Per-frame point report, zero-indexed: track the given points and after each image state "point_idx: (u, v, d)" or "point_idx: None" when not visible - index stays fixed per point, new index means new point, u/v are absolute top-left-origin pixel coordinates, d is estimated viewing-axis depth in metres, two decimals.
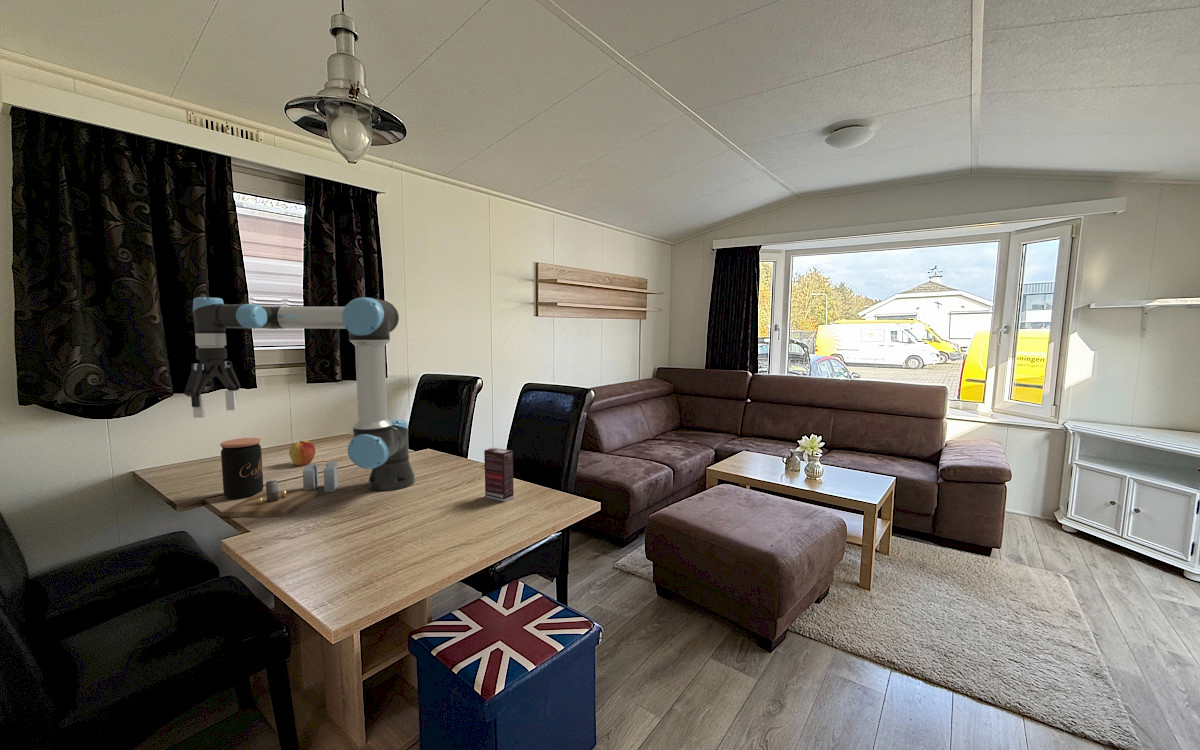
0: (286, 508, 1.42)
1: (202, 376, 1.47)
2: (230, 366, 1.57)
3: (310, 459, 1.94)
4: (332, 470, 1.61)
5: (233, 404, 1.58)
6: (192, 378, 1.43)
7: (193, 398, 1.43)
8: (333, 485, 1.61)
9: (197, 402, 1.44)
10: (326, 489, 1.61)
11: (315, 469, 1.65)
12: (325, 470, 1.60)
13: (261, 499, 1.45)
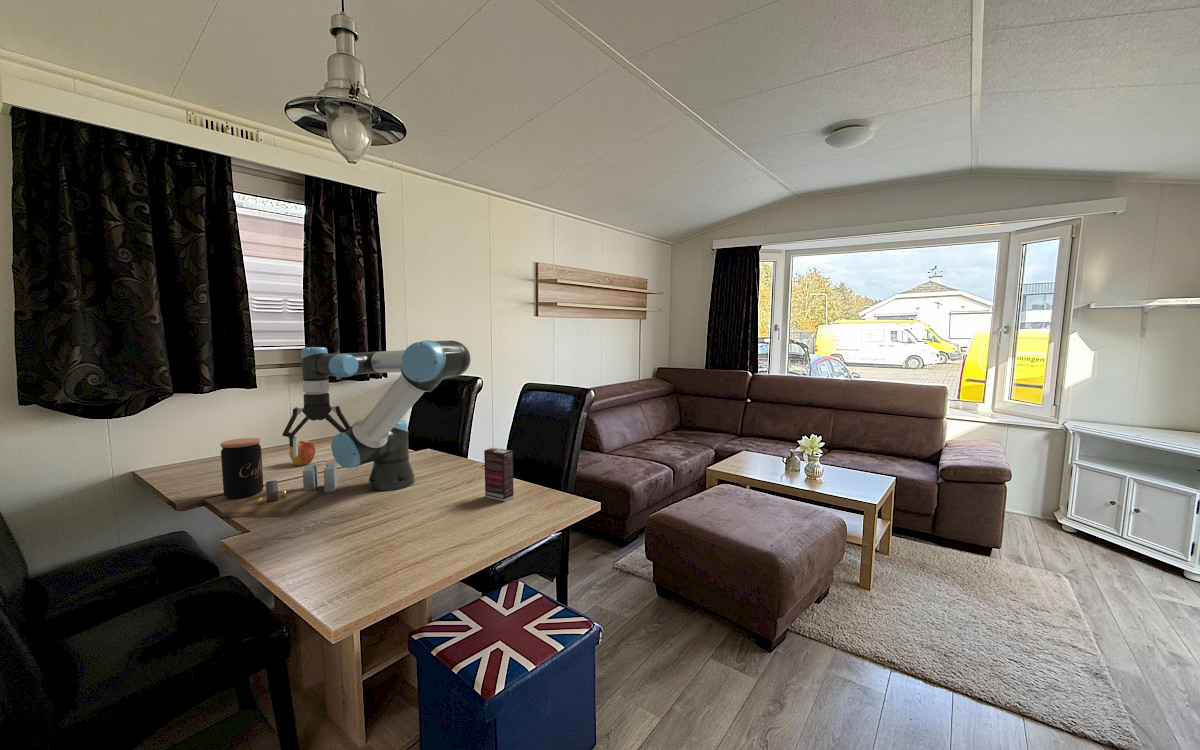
0: (286, 508, 1.42)
1: (303, 419, 1.61)
2: (337, 411, 1.63)
3: (310, 459, 1.94)
4: (332, 470, 1.61)
5: None
6: None
7: None
8: (333, 485, 1.61)
9: (290, 442, 1.59)
10: (326, 489, 1.61)
11: (315, 469, 1.65)
12: (325, 470, 1.60)
13: (261, 499, 1.45)
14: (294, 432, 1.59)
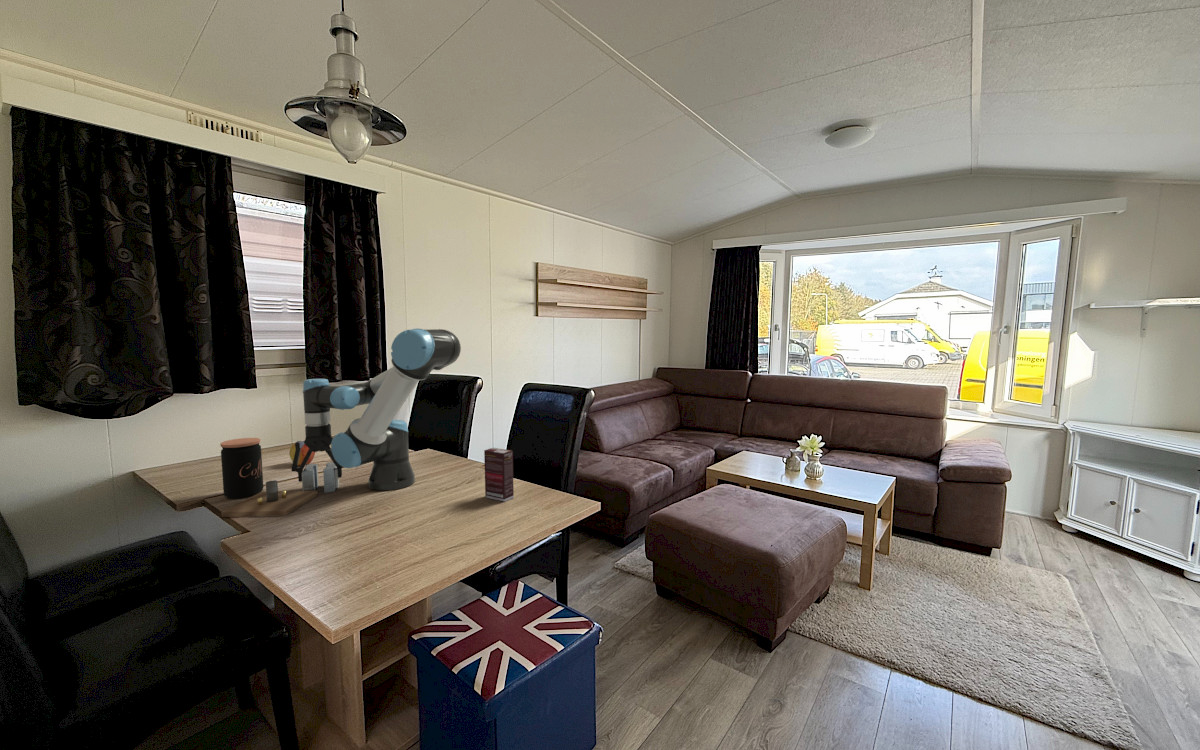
0: (286, 508, 1.42)
1: None
2: None
3: (310, 459, 1.94)
4: (332, 470, 1.61)
5: None
6: None
7: None
8: (333, 485, 1.61)
9: (299, 477, 1.61)
10: (326, 489, 1.61)
11: (315, 469, 1.65)
12: (325, 470, 1.60)
13: (261, 499, 1.45)
14: (302, 466, 1.60)
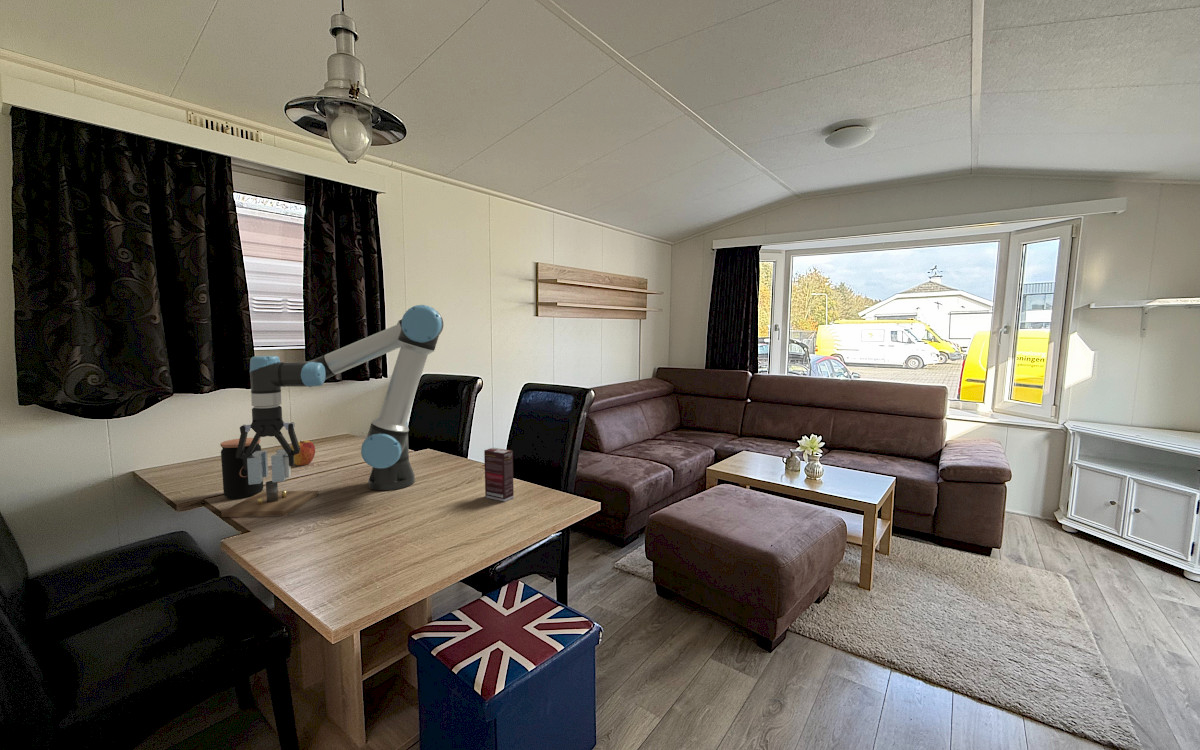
0: (286, 508, 1.42)
1: None
2: (289, 429, 1.48)
3: (310, 459, 1.94)
4: (281, 457, 1.45)
5: (286, 471, 1.49)
6: None
7: None
8: (282, 474, 1.45)
9: (245, 465, 1.45)
10: (274, 479, 1.45)
11: (264, 456, 1.49)
12: (273, 457, 1.44)
13: (261, 499, 1.45)
14: (248, 453, 1.44)
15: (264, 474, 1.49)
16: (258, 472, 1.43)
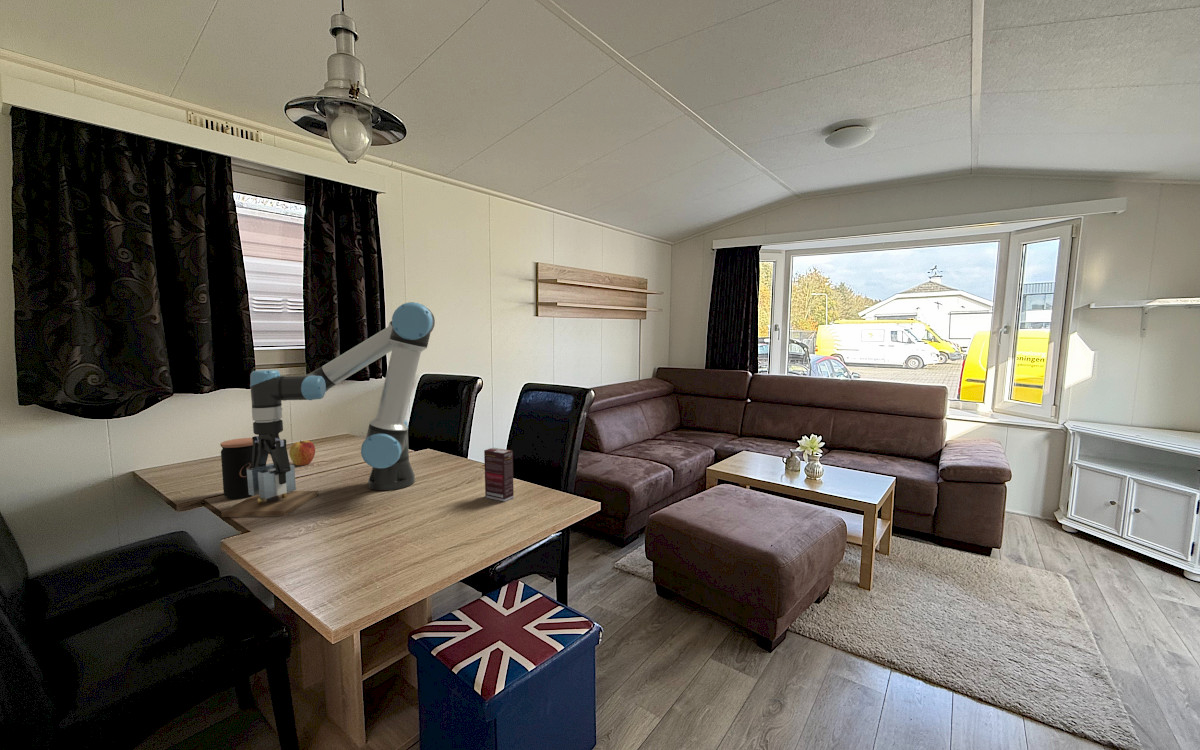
0: (286, 508, 1.42)
1: None
2: (276, 446, 1.44)
3: (310, 459, 1.94)
4: (262, 474, 1.42)
5: None
6: None
7: None
8: (264, 491, 1.43)
9: None
10: (260, 494, 1.44)
11: None
12: (258, 473, 1.43)
13: (261, 499, 1.45)
14: (257, 463, 1.49)
15: None
16: (252, 484, 1.45)
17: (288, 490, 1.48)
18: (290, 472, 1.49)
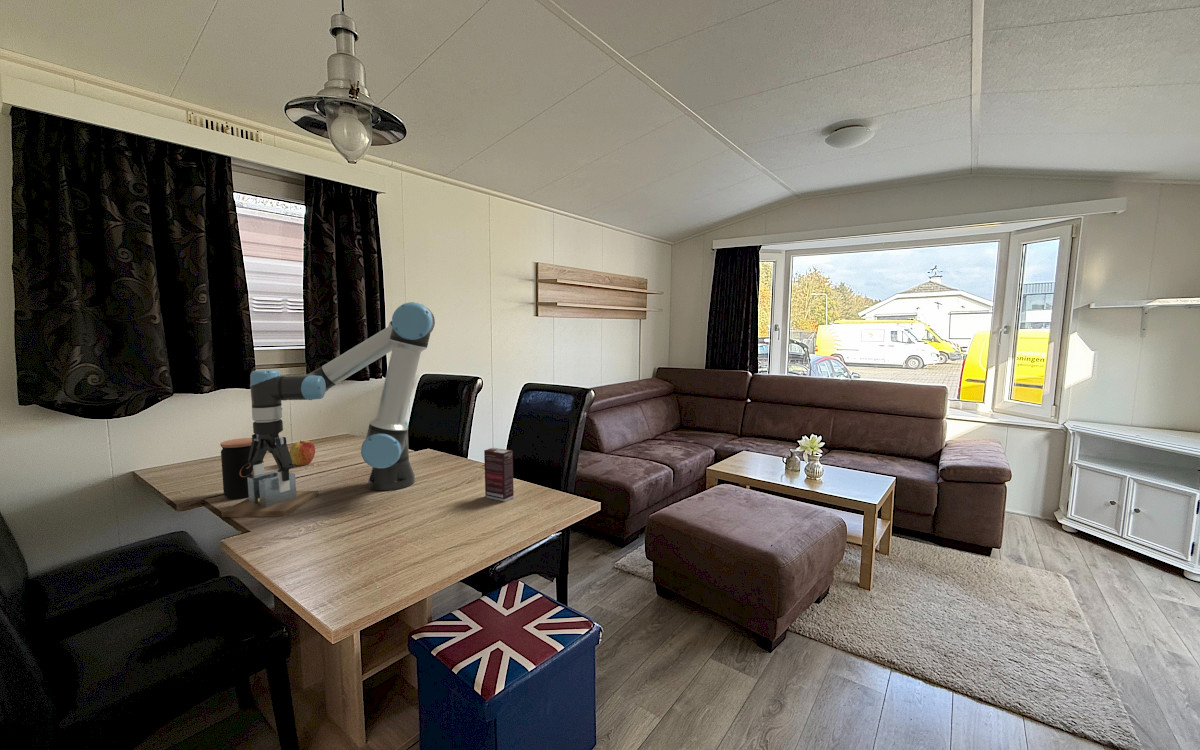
0: (286, 508, 1.42)
1: None
2: (276, 444, 1.43)
3: (310, 459, 1.94)
4: (263, 483, 1.42)
5: None
6: None
7: None
8: (265, 500, 1.43)
9: None
10: (261, 503, 1.44)
11: (275, 477, 1.51)
12: (259, 481, 1.43)
13: None
14: (254, 459, 1.50)
15: None
16: (253, 493, 1.45)
17: (289, 498, 1.49)
18: (291, 480, 1.49)
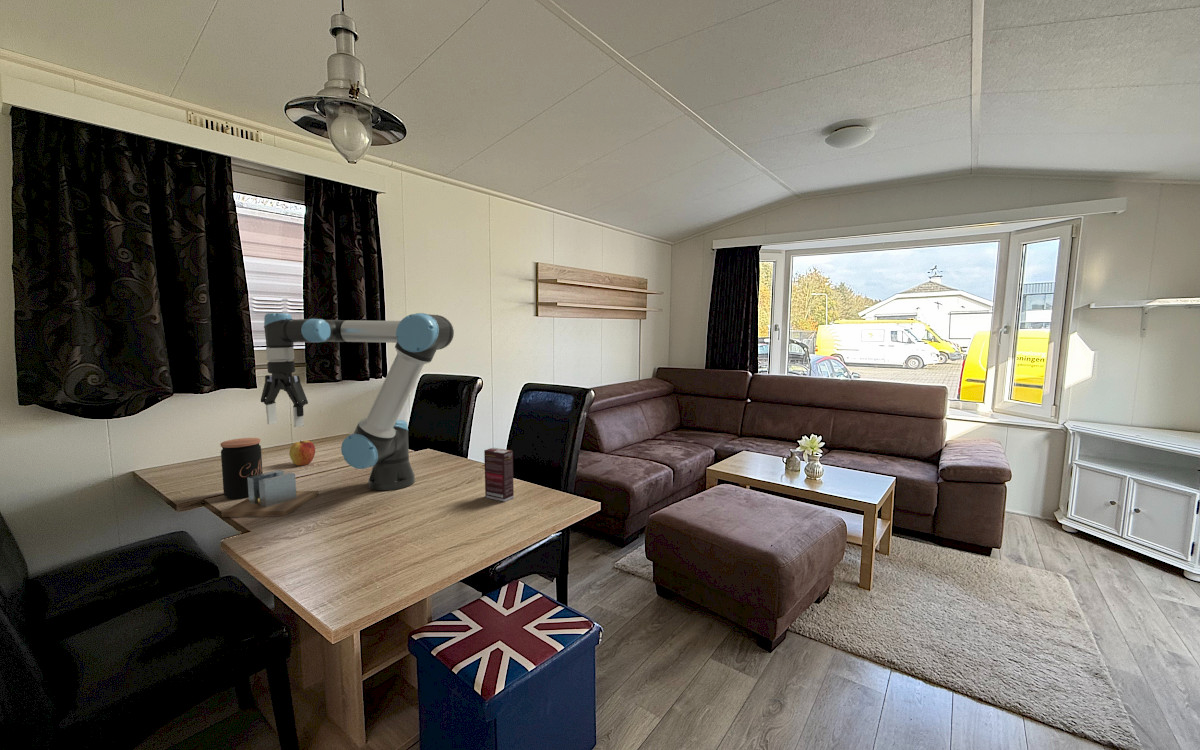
0: (286, 508, 1.42)
1: None
2: (291, 381, 1.53)
3: (310, 459, 1.94)
4: (263, 483, 1.42)
5: None
6: None
7: None
8: (265, 500, 1.43)
9: None
10: (261, 503, 1.44)
11: (275, 477, 1.51)
12: (259, 481, 1.43)
13: None
14: (267, 399, 1.58)
15: None
16: (253, 493, 1.45)
17: (289, 498, 1.49)
18: (291, 480, 1.49)
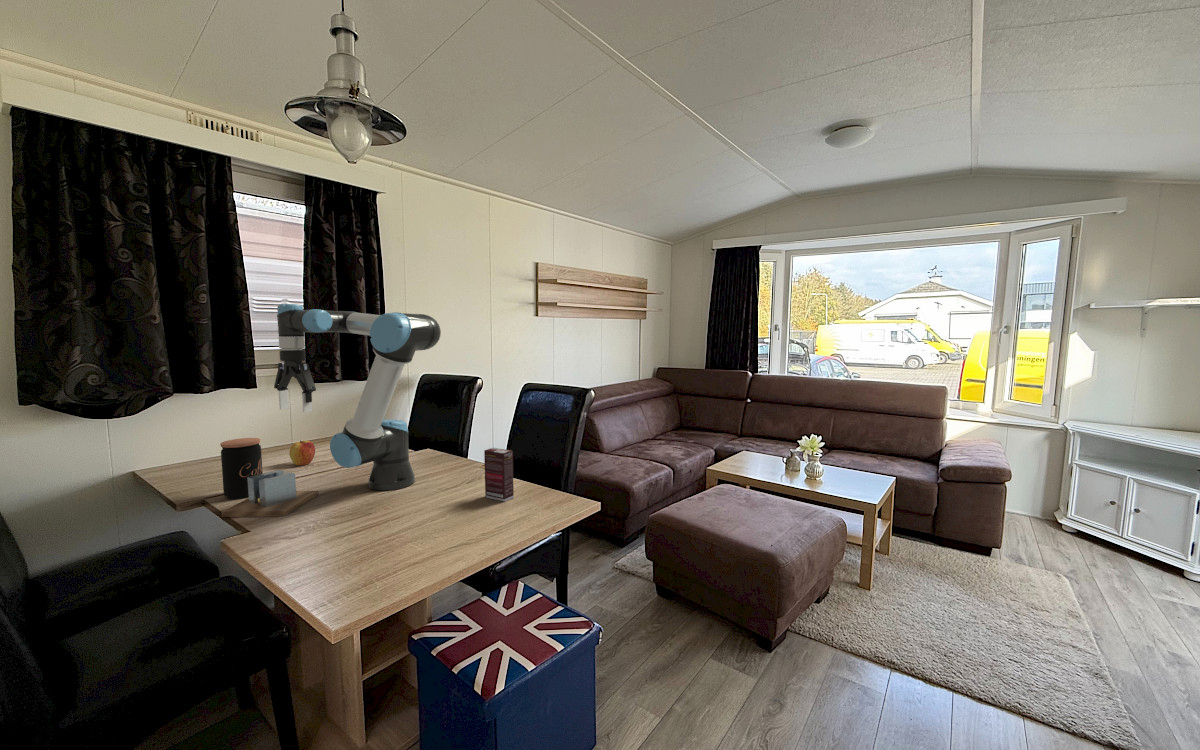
0: (286, 508, 1.42)
1: None
2: (300, 369, 1.61)
3: (310, 459, 1.94)
4: (263, 483, 1.42)
5: None
6: None
7: None
8: (265, 500, 1.43)
9: None
10: (261, 503, 1.44)
11: (275, 477, 1.51)
12: (259, 481, 1.43)
13: None
14: (279, 385, 1.67)
15: None
16: (253, 493, 1.45)
17: (289, 498, 1.49)
18: (291, 480, 1.49)
